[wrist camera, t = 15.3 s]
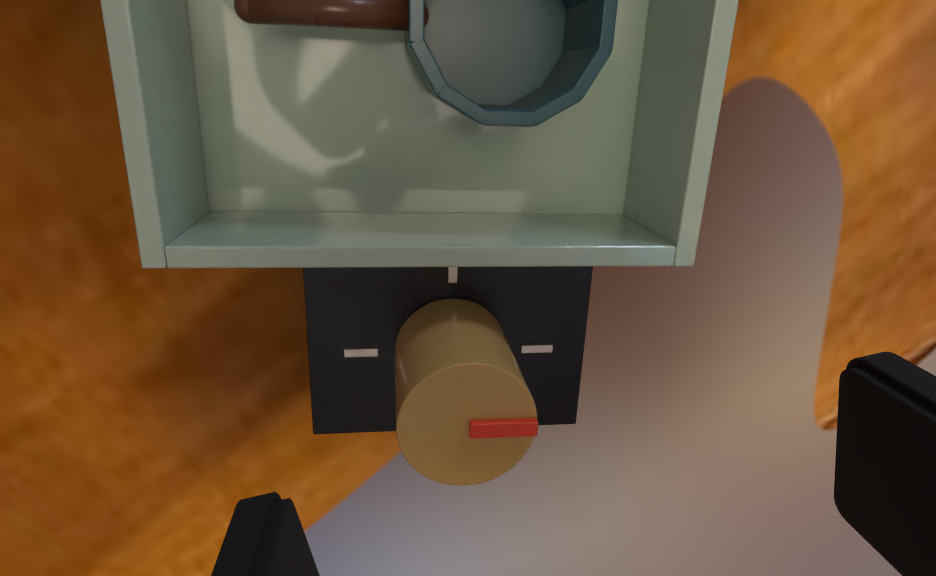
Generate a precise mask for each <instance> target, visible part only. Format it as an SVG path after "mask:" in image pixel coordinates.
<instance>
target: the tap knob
mask: <svg viewBox="0 0 936 576" xmlns="http://www.w3.org/2000/svg"><path fill="white" fill-rule="evenodd" d="M395 397H396V433H397V440H398V444H399V447H400V449H401V452H402V453H403V455H404V457H405V458H406V459H407V461H408V462H409V463H410V465H411V466H412V467H414V468H415V469H416V470H417V471H418V472H419V473H421V474H422V475H424V476H426V477H427V478H429V479H431V480H434V481H437V482H440V483H444V484H448V485H474V484H479V483H483V482H486V481H489V480H492V479H494V478H496V477H498V476H500V475H502V474H504V473H505V472H507V471H508V470H510V469H511V468H512V467H514V466H515V465H516V463H518V462H519V461H520V460H521V459H522V457H523V456H524V455H525V453H526V452H527V450H528V449H529V447H530V445H531V443H532V441H533V438H534V436H537V431H538V421H537V413H536V407H535V403H534V400H533V398H532V396H531V393H530V391H529V389H528V387H527V384H526V382H525V380H524V377H523V375H522V373H521V371H520V368H519V366H518V364H517V362H516V359H515V357H514V355H513V353H512V350H511V348H510V346H509V344H508V341H507V339H506V337H505V335H504V332H503V330H502V328H501V326H500V324H499V322H498V321H497V319H496V318H495V317H494V316H493V315H492V314H491V313H490V312H489V311H488V310H487V309H485V308H484V307H482V306H480V305H478V304H476V303H474V302H471V301H468V300H463V299H443V300H438V301H434V302H431V303H429V304H427V305H425V306H423V307H421V308H420V309H418V310H416V311H415V312H414V313H413V314H412V315H411V316H410V317H409V318H408V319H407V320H406V321H405V323H404V324H403V325H402V327H401V329H400V331H399V333H398V336H397V338H396V343H395Z"/></svg>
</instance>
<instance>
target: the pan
mask: <svg viewBox="0 0 936 576" xmlns="http://www.w3.org/2000/svg"><path fill="white" fill-rule="evenodd" d="M617 6H618V0H234V9H235V12H236V14H237V15H238V17H239V18H240V19H241V20H243V21H244V22H246V23H249V24H264V25H285V26H307V27H328V28H350V29H371V30H393V31H405V47H406V48H407V49H406V51H407V53H408V55H409V57H410V59H411V60H412V62H413V64H414V67H415V69H416V71H417V73H418V74H419V76H420V78H421V79H422V81H423V83H424V85H425V87H426V89H427V91H429V93H430V94H432V95H433V96H435V97H437V98H438V99H440V100H441V101H443V102H444V103H446V104H447V105H449V106H450V107H452V108H454V109H455V110H457V111H458V112H460V113H461V114H463V115H464V116H466V117H468V118H470V119H472V120H473V121H475V122H477V123H479V124H482V125H485V126H522V127H533V126H537V125H539V124H541V123H542V122H544V121H546V120H548V119H549V118H551V117H553V116H555V115H557V114H558V113H560V112H562V111H564V110H566V109H567V108H569V107H571V106H573V105H574V104H576V103H578V102H580V101H581V99H583V97H584V96H585V94H586V93H587V91H588V90H589V88H590V87H591V85H592V83H593V82H594V80H595V79H596V77H597V76H598V74H599V72H600V71H601V69H602V68H603V66H604V65H605V63H606V61H607V60H608V58H609V57H610V55H611V53H612V52H611V51H612V50H613V43H614V33H615V24H616V15H617Z"/></svg>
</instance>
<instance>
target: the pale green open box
mask: <svg viewBox="0 0 936 576" xmlns="http://www.w3.org/2000/svg"><path fill="white" fill-rule="evenodd" d="M100 1H101V8H102V14H103V21H104V27H105V33H106V40H107V46H108V53H109V59H110V65H111V72H112V78H113V85H114V91H115V97H116V104H117V110H118V117H119V123H120V129H121V136H122V142H123V149H124V155H125V161H126V168H127V174H128V181H129V187H130V193H131V200H132V206H133V213H134V219H135V226H136V232H137V238H138V245H139V251H140V258H141V264H142V267H143V268H166V267H168V268H349V267H567V266H672V265H674V266H693V265H694V260H695V254H696V248H697V242H698V237H699V230H700V225H701V219H702V213H703V207H704V201H705V195H706V189H707V184H708V178H709V172H710V165H711V160H712V154H713V148H714V142H715V136H716V129H717V124H718V119H719V112H720V107H721V101H722V95H723V89H724V83H725V77H726V71H727V65H728V60H729V54H730V48H731V42H732V36H733V30H734V24H735V18H736V12H737V6H738V1H739V0H618V6H617V15H616V24H615V33H614V43H613V50H612V51H611V52H612V53H611V55H610V57H609V58H608V60H607V61H606V63H605V65H604V66H603V68H602V69H601V71H600V72H599V74H598V76H597V77H596V79H595V80H594V82H593V83H592V85H591V87H590V88H589V90H588V91H587V93H586V94H585V96H584V97H583V99H581V101H580V102H578V103H576V104H574V105H573V106H571V107H569V108H567V109H566V110H564V111H562V112H560V113H558V114H557V115H555V116H553V117H551V118H549V119H548V120H546V121H544V122H542V123H541V124H539V125H537V126H533V127H522V126H485V125H482V124H479V123H477V122H475V121H473V120H472V119H470V118H468V117H466V116H464V115H463V114H461V113H460V112H458V111H457V110H455V109H454V108H452V107H450V106H449V105H447V104H446V103H444V102H443V101H441V100H440V99H438V98H437V97H435V96H433V95H432V94H430V93H429V91H427V89H426V87H425V85H424V83H423V81H422V79H421V78H420V76H419V74H418V73H417V71H416V69H415V67H414V64H413V62H412V60H411V59H410V57H409V55H408V53H407V51H406V49H407V48H406V47H405V31H393V30H371V29H350V28H328V27H307V26H285V25H264V24H249V23H246V22H244V21H243V20H241V19H240V18H239V17H238V15H237V14H236V12H235V9H234V0H100Z"/></svg>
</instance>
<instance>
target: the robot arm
mask: <svg viewBox="0 0 936 576" xmlns="http://www.w3.org/2000/svg"><path fill="white" fill-rule="evenodd" d="M834 500H835V504H836V506H837V509H838V511H839V512H840V514H841V515H842V517H843V518H844V519H845V520H846V521H847V522H848V523H849V524H850V525H851V526H852V527H853V528H854V529H855V530H856V531H857V532H858V533H859V534H860V535H861V536H862V537H863V538H864V539H865V540H866V541H867V542H868V543H869V544H870V545H872V547H874V548H875V549H876V550H877V551H878V552H879V553H880V554H881V555H882V556H883V557H884V558H885V559H886V560H887V561H888V562H889V563H890V564H891V565H892V566H893V567H894V568H895V569H896V570H897V571H898V572H899V573H900V574H901V575H902V576H936V376H934V375H932V374H931V373H929V372H927V371H925V370H923V369H922V368H920V367H918V366H916V365H914V364H913V363H911V362H909V361H907V360H905V359H903V358H902V357H900V356H898V355H896V354H894V353H891V352H881V353H877V354H872V355H868V356H864V357H859V358H855V359H853V360H851V361H850V362H849V363H848V365H847V368H846V370H844V371H842V373H841V375H840V380H839V401H838V421H837V443H836V463H835V484H834ZM211 576H319V573H318V570H317V567H316V564H315V562H314V559H313V556H312V553H311V551H310V548H309V545H308V542H307V539H306V536H305V534H304V531H303V528H302V525H301V522H300V520H299V517H298V514H297V511H296V508H295V506H294V503H293V501H292V500H291V499H290V498H288V499H283V500H281V497H280V496H279V494H278V493H276V492H272V493H268V494H264V495H259V496H255V497H251V498H246V499H242V500H240V501H239V502H238V503H237V505H236V508H235V510H234V513H233V516H232V519H231V522H230V524H229V527H228V530H227V533H226V536H225V538H224V541H223V544H222V547H221V550H220V552H219V555H218V558H217V561H216V564H215V566H214V569H213V572H212V575H211Z"/></svg>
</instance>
